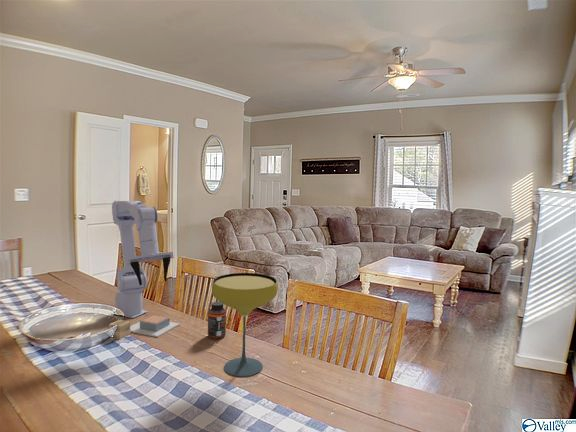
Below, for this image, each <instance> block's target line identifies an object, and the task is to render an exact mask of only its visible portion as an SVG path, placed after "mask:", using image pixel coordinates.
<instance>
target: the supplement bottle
mask: <svg viewBox="0 0 576 432" xmlns="http://www.w3.org/2000/svg"><path fill="white" fill-rule="evenodd" d="M210 304H211V306H210V307H211V308H209V310H208V311H207V317H208V318H207V319H208V320H207V336H208V337H209V338H210V339H214V340H215V339H216V340H217V339H223V338H224V337H225V336H226V333H227V330H226V329H227V328H226V327H227V325H226V324H227V310H226V308H225V307H224V304H222V303H221V302H219V301H213V302H211V303H210Z"/></svg>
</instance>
